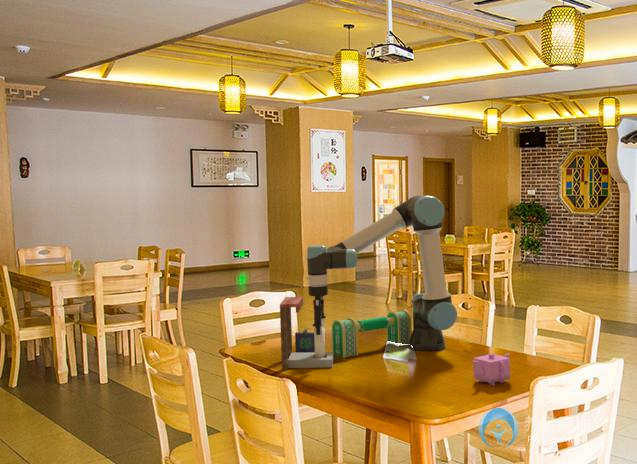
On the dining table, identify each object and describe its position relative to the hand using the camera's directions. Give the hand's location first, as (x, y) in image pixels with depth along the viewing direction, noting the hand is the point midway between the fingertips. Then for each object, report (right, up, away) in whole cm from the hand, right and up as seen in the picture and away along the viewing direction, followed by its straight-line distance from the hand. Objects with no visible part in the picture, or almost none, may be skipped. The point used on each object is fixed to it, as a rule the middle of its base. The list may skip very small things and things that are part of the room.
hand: (320, 339), depth 264 cm
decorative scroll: (+23, -8, +22) cm, 33 cm away
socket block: (-3, -10, +1) cm, 10 cm away
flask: (-6, -9, +18) cm, 21 cm away
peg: (0, -10, +1) cm, 10 cm away
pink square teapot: (+59, -10, -31) cm, 67 cm away
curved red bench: (-10, -10, +1) cm, 14 cm away
